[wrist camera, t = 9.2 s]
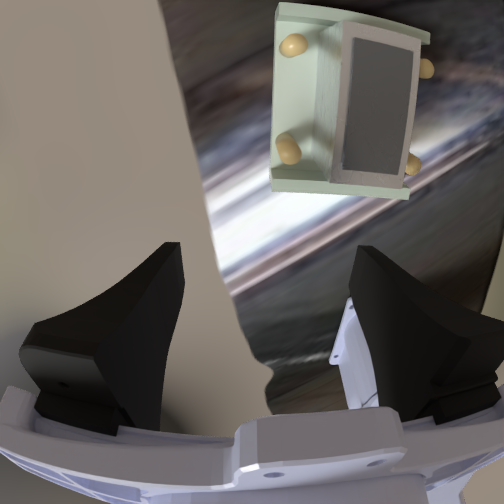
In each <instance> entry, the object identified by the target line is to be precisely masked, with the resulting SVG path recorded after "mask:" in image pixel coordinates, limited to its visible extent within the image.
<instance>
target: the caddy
mask: <svg viewBox="0 0 504 504" xmlns="http://www.w3.org/2000/svg"><path fill="white" fill-rule="evenodd" d="M342 20H345V21H351V22H356V23H361V24H365V25H370V26H374V27H378V28H382V29H386V30H390V31H394V32H397V33H401V34H404V35H408V36H411V37H414V38H417V39H420V40H421V45H428V44H430V33H429V32H426V31H423V30H420V29H417V28H414V27H411V26H408V25H404V24H401V23H398V22H394V21H390V20H387V19H383V18H379V17H375V16H370V15H366V14H361V13H357V12H352V11H347V10H341V9H335V8H329V7H322V6H315V5H307V4H297V3H286V2H279V4H278V7H277V9H276V11H275V33H274V65H273V93H272V119H271V143H270V166H269V178H270V184H271V189H272V192H297V193H319V194H337V195H353V196H367V197H380V198H392V199H403V200H408V198H409V194H410V190H411V189H410V188H409V187H408V186H407V185H406V184H405V183H404V182H403V185H402V189H392V188H382V187H372V186H361V185H348V184H335V183H329V182H328V180H327V179H326V177H325V176H324V174H323V173H322V171H321V170H320V168H319V167H318V165H317V164H316V163H315V161H314V160H313V158H312V157H311V155H310V154H311V143H312V131H313V119H314V105H315V90H316V74H317V56H318V33H320V32H322V31H323V30H325V29H327V28H329V27H331V26H333V25H334V24H336V23H338V22H340V21H342ZM433 74H434V67H433V64H432V63H431V62H430V61H429V60H428V59H420V67H419V78H426V79H428V78H431V77H432V76H433ZM420 168H421V162H420V160H419V158H417V157H416V156H414V155H413V154H411V153H409V154H408V160H407V165H406V170H405V172H406V173H407V174H408V175H415V174H417V173H418V172H419V171H420Z"/></svg>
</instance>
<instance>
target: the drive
mask: <svg viewBox="0 0 504 504" xmlns="http://www.w3.org/2000/svg"><path fill="white" fill-rule="evenodd" d="M420 52H421V40H420V39H417V38H414V37H411V36H408V35H404V34H401V33H397V32H394V31H390V30H386V29H382V28H378V27H374V26H370V25H365V24H361V23H356V22H351V21H345V20H342V21H340V22H338V23H336V24H334V25H333V26H331V27H329V28H327V29H325V30H323V31H322V32H320V33H318V56H317V74H316V90H315V105H314V119H313V131H312V143H311V154H310V155H311V157H312V158H313V160H314V161H315V163H316V164H317V165H318V167H319V168H320V170H321V171H322V173H323V174H324V176H325V177H326V179H327V180H328V182H329V183H335V184H348V185H361V186H372V187H382V188H392V189H402V185H403V180H404V175H405V170H406V165H407V160H408V154H409V148H410V142H411V136H412V130H413V123H414V115H415V108H416V99H417V90H418V80H419V67H420Z"/></svg>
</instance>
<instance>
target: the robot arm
mask: <svg viewBox="0 0 504 504" xmlns="http://www.w3.org/2000/svg"><path fill="white" fill-rule="evenodd" d="M184 286H185V279H184V272H183V263H182V255H181V247H180V242H165V243H164V244H162V245H161V246H160V247H159V248H158V249H157V250H156V251H155V252H154V253H152V254H151V255H150V256H149V257H148V258H147V259H146V260H145V261H144V262H143V263H141V264H140V265H139V266H138V267H137V268H135V269H134V270H133V271H132V272H131V273H129V274H128V275H127V276H126V277H124V278H123V279H122V280H121V281H119V282H118V283H116V284H115V285H114V286H112V287H111V288H109V289H108V290H106V291H105V292H103V293H101V294H100V295H98V296H96V297H94V298H93V299H91V300H89V301H87V302H86V303H84V304H82V305H80V306H78V307H76V308H74V309H72V310H69V311H67V312H65V313H62V314H60V315H57V316H55V317H52V318H49V319H46V320H43V321H40V322H37V323H35V324H34V325H33V327H32V328H31V330H30V332H29V334H28V335H27V337H26V339H25V340H24V342H23V344H22V346H21V348H20V349H19V357H20V361H21V363H22V365H23V367H24V368H25V370H26V371H27V372H28V374H29V375H30V377H31V378H32V379H33V381H34V382H35V383H36V385H37V386H38V387H39V388H40V389H41V391H40V394H39V396H38V397H37V396H35V395H34V394H32V393H30V392H28V391H24V390H21V389H19V388H16V387H13V386H8V388H7V390H6V392H5V394H4V396H3V398H2V401H1V403H0V453H2V454H3V455H5V456H6V457H7V458H8V459H10V460H11V461H13V462H14V463H16V464H17V465H18V466H20V467H21V468H23V469H24V470H26V471H28V472H31V473H33V474H35V475H37V476H40V477H42V478H44V479H47V480H49V481H51V482H54V483H56V484H59V485H61V486H64V487H66V488H69V489H72V490H74V491H77V492H79V493H82V494H85V495H88V496H91V497H93V498H97V499H99V500H103V501H106V502H109V503H112V504H466V503H465V499H464V496H463V492H462V490H463V488H464V487H465V485H466V484H467V482H468V481H469V480H470V478H471V477H472V475H473V474H474V472H475V471H476V470H478V469H480V468H482V467H484V466H486V465H488V464H490V463H492V462H493V461H495V460H497V459H499V458H501V457H503V456H504V384H503V385H501V386H500V387H498V388H497V386H496V385H495V382H496V381H497V380H498V377H497V374H496V373H495V370H497V368H498V367H499V366H500V364H501V363H502V362H503V360H504V321H501V320H498V319H495V318H491V317H488V316H485V315H482V314H480V313H477V312H475V311H472V310H470V309H467V308H465V307H463V306H461V305H459V304H457V303H455V302H453V301H451V300H449V299H447V298H445V297H443V296H442V295H440V294H438V293H437V292H435V291H433V290H432V289H430V288H429V287H427V286H426V285H424V284H423V283H421V282H420V281H418V280H417V279H416V278H414V277H413V276H411V275H410V274H409V273H407V272H406V271H405V270H403V269H402V268H401V267H400V266H398V265H397V264H396V263H394V262H393V261H392V260H391V259H389V258H388V257H387V256H385V255H384V254H383V253H382V252H380V251H379V250H377V249H376V248H374V247H373V246H363V245H358V248H357V252H356V257H355V261H354V265H353V269H352V273H351V277H350V281H349V289H350V294H351V297H350V298H349V299H348V300H347V303H346V307H345V310H344V314H343V317H342V321H341V324H340V327H339V331H338V334H337V337H336V340H335V344H334V347H333V350H332V353H331V356H330V359H329V362H330V364H333V365H334V364H339V368H340V372H341V377H342V381H343V385H344V390H345V394H346V399H347V404H348V407H349V410H340V411H330V412H317V413H302V414H279V415H272V416H264V417H258V418H255V419H253V420H250V421H248V422H245V423H243V424H242V425H241V426H240V427H239V428H238V430H237V431H236V432H235V437H233V438H231V437H211V436H197V435H184V434H174V433H166V432H160V414H161V402H162V392H163V382H164V375H165V368H166V361H167V355H168V351H169V346H170V343H171V339H172V336H173V332H174V329H175V326H176V322H177V319H178V315H179V312H180V308H181V305H182V299H183V293H184ZM351 305H353V306H351ZM350 306H351V307H350Z"/></svg>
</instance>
